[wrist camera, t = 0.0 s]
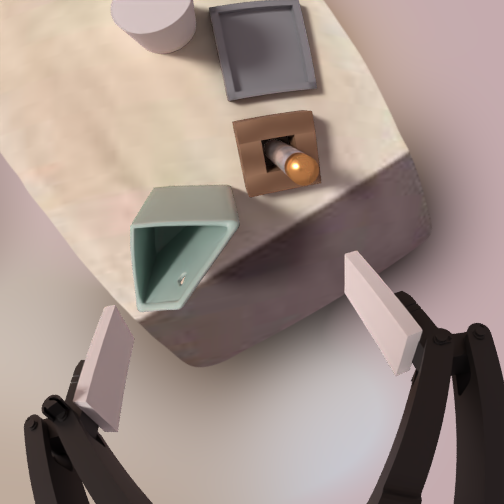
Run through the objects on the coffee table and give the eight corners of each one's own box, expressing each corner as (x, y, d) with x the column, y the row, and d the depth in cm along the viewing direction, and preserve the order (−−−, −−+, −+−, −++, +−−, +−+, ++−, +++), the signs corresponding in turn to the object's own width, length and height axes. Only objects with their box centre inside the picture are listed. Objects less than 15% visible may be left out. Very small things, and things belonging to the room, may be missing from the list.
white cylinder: (202, 6, 28) (201, -29, 17) (188, 56, 31) (179, 36, 21) (145, 2, 26) (124, -31, 15) (131, 52, 29) (101, 33, 19)
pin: (261, 140, 38) (287, 158, 26) (282, 137, 39) (317, 153, 26) (265, 161, 40) (291, 188, 28) (285, 157, 40) (320, 182, 28)
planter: (194, 148, 38) (180, 186, 21) (232, 188, 41) (250, 254, 24) (119, 225, 41) (71, 306, 24) (155, 257, 45) (132, 349, 28)
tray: (209, 11, 28) (209, 7, 27) (294, 2, 29) (298, -1, 27) (227, 101, 35) (228, 100, 34) (312, 88, 35) (317, 88, 34)
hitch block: (232, 121, 37) (234, 123, 33) (302, 110, 37) (312, 111, 33) (246, 189, 41) (249, 197, 38) (311, 175, 42) (321, 183, 38)
